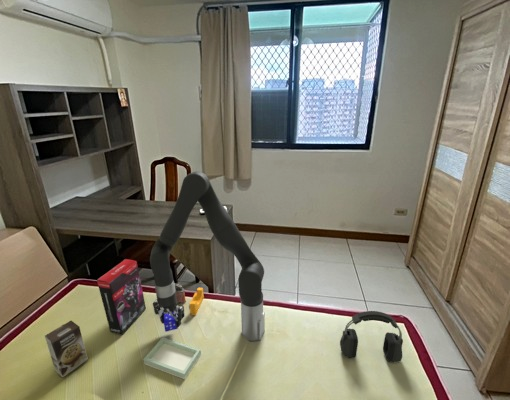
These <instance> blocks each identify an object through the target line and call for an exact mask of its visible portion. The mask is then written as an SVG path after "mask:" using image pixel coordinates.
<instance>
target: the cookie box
mask: <svg viewBox="0 0 510 400" xmlns="http://www.w3.org/2000/svg"><path fill="white" fill-rule="evenodd" d="M81 332H82V331H81V328H80V325H78V324H77V323H76V322H74V321H73V320H69V321H67V322H65V323H64V324H62V325H61V326H59V327H57V328H56V329H54V330H52V331H50V332H49V333H47V334H45V335H44V338H45V341H46V344H47V348H48V351H49V355H50V358H51V362H52V365H53V369H54V370H55V371H56V372H57V373H58V375H59V376H60V377H62V378H64V377H65V376H67V375H68V374H69V373H71V372H72V371H75V369H77V368H78V367H79V366H81V365H82V364H84V363H85V362H87V361H88V355H87V350H86V347H85V344H84V343H85V342H84V339H83V336H82V335H83V334H82V333H81Z"/></svg>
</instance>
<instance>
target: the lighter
mask: <svg viewBox="0 0 510 400" xmlns="http://www.w3.org/2000/svg"><path fill="white" fill-rule="evenodd" d="M174 284H175V290H176V297H177V299H176V303H177V304H180V305H184V304H186V303H187V300H186V294H185V291H186V290H185V288H183V285H181V284H180V283H175V282H174Z"/></svg>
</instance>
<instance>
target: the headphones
mask: <svg viewBox="0 0 510 400" xmlns="http://www.w3.org/2000/svg"><path fill="white" fill-rule="evenodd" d="M368 321H369V322H371V321H374V322H375V321H377V322H378V321H379V322H383V323H385V324H391V326H392V327H393V328H395V329H397V330H398V334H399V335H398V334H397V333H394V332H386V333H385V335H384V340H383V345H382V352H383V354H384V357H385V359H386V360H387V362H390V363H400V362H401V361H402V360H403V345H404V344H403V343H404V340H403V335H402V334H403V333H402V331H401V329H400V326H399V325H398V324H397V321H396V320H395V319H394V318H393V317H392V316H391V315H390V314H387V313H385V312H383V311H377V310H367V311H363V312H358V313H356V314H354V315H353V316H352V317H351V320H350V321H348V322H347V323H346V325H345V327H344V330H342V335H341V338H340V340H339V346H340V351H341V353H342V355H343V356H344V357H347V358H350V359H354V358H356V357H357V354H358V353H357V352H358V347H359V346H358V345H359V337H358V334H357V331H356V330H355V328H349V327H350V326H351V325H352V324H354V325H358V324H360V323H361V322H368Z"/></svg>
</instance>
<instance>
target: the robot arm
mask: <svg viewBox="0 0 510 400" xmlns="http://www.w3.org/2000/svg"><path fill="white" fill-rule="evenodd" d="M197 204H199V205H200V206H201V209H202V210H203V213H204V215H205V218H206V221H207V224H208V227H209V230H211V233H212V235H213V236H214V238H215V239H216V241H217V242H218V244H219V245H220V246H221V247H222V248H224V249H225V250H227V251H228V252H230V253H231V254H232V255H234V257H235V258H236V260H237V261H238V263H239V264H240V266H241V270H240V272H239V273H238V274H239V275H238V282H237V283H238V294H239V298H240V317H241V320H240V321H241V334H242V338H244V339H246V341H249V342H250V341H251V342H255V341H261V340H262V338H263V335H264V333H265V331H266V330H265V328H266V327H265V326H266V324H265V323H266V321H265V320H266V319H265V316H266V315H265V312H264V294H263V293H264V292H263V291H262V288H263V287H262V282H263V279H264V276H265V268H264V266H263V264H262V263H261V261H260V260H259V259H258V257H257V256H256V255H255V253H254V252H253V251H252V249H251V248H250V247H249V245H248V243H247V241H246V240H245V238H244V237H243V235H242V233H241V232H240V230H239V228H238V226H237V225H236V223H235V222H234V219H233V218H232V217H231V215H230V214H229V212H228V211H227V210H226V208H225V207H224V205H223V204H222V202H221V201H220V199H219V198H218V196H217V194H216V192H215V190H214V188H213V185H212V184H211V181H210V179H209V178H208V176H207V174H205V173H203V172H201V171H193V172H190V173H188V174H187V175H186V176H185V177H184V178H183V180H182V183H181V187H180V190H179V194H178V197H177V199H176V202H175V204H174V207H173V209H172V211H171V213H170V215H169V216H168V219H167V220H166V223H165V224H164V226H163V228H162V230H161V232H160V234H159V236H158V238H157V240H156V241H155V243H154V245H153V246H152V249H151V252H150V256H149V263H150V264H149V265H150V270H151V271H152V274H153V278H154V285H155V286H154V287H155V288H154V289H155V290H154V291H155V295H156V299H155V300H154V301H153V303H152V307H153V311H154V314H155V315H158V317H159V319H160V323H161V324H163V325H164V314H168V313H169V314H170V315H171V316H172V317H174V319H175V323H176V327H177V328H178V329H179V328H180V326H181V325H182V320H183V319H184V318H185V317H186V316H185V306H184V304H180V305H178V303H176V299H177V297H176V290H175V284H176V283H175V281H174V275H173V270H172V267H171V265H170V264H171V263H170V254H171V252H172V249H173V247H174V246H175V245H176V244H177V243H178V241H179V239H180V237H181V236H182V234H183V232H184V229H185V227H186V225H187V222H188V220H189V217H190V214H191V213H192V210H193V209H194V207H195V205H197ZM174 283H175V284H174ZM173 312H175V313H174V314H173ZM176 315H177V316H176Z"/></svg>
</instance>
